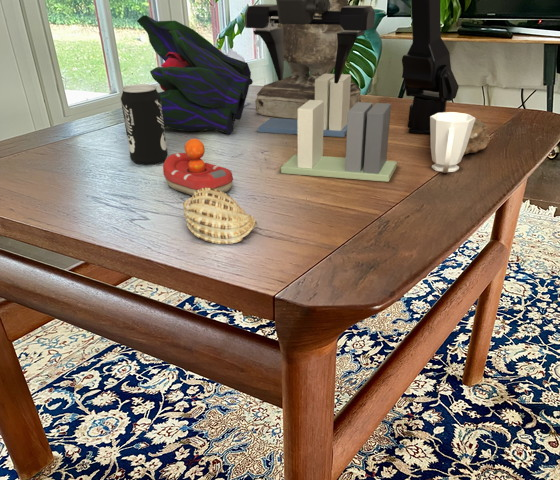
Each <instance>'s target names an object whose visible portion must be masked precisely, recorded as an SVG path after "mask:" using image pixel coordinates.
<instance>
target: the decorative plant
mask: <svg viewBox="0 0 560 480" xmlns="http://www.w3.org/2000/svg"><path fill="white" fill-rule="evenodd" d="M136 22H137V23H138V25H140V26H141V28H142V29H143V30H144V31H145V32H146V34H147V37H148V42H149V44H150V46H151V47H152V49H153V50H154V52H155V53H156V54H157V55H158V56H159V57H160V58H161V59H162V60H163V61H164V62H163V63H162V64H161V65H160V66H157V67H154V68H152V70H150V71H149V73H150V76H151V78H152V79H153V80H154V81H155V82H156V83H157V84H159V87H160V89H161V90H162V91H159V92H158V93H159V95H160V98H161V106H162V114H163V121H164V128H168V129H172V130H178V131H185V132H198V131H199V132H200V131H219V132H221V133H224V134H226V135H227V134H228V135H231V133H232V132H233V131H234V128H235V121H240V120H241V119H242V116H243V112H244V108H245V105H244V104H245V100H247V96H248V92H249V89H250V86H251V85H253V83H254V81H253V79H252V77H251V76H252V72H251V69H250V66H249V64H248V62H246V61H245V62H243V61H240V60H237V59H234V58H231V57H228V56H226V55H225V54H224V52H222V51H221V50H220V49H218V48H217V47H216V46H215V45H214V44H213V43H211V42H210V41H209V40H208V39H207V38H205V37H203V36H202V35H201V34H200V33H199V32H197V31H196V30H195V29H193V28H191V27H190V26H187V25H185V24H183V23H181V22H179V21H177V20H155V19H154V18H152V17H151V16H148V15H146V14H143V15H142V16H141V17H140V18H138V19H137V20H136Z"/></svg>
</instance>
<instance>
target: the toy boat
mask: <svg viewBox="0 0 560 480" xmlns="http://www.w3.org/2000/svg"><path fill="white" fill-rule="evenodd" d="M205 149H206V148H205V145H204V143H203V141H201V140H200V139H198V138H190V139H188V140H187V141H186V142H185V145H184V152H175V153H173V154H170V155H168V156H167V158H166V159H165V161H164V162H163V165H162V171H163V172H162V173H163V176H164V178H165V181H166V183H167V184H168V186H169V187H170V188H172V190H175V191H176V192H177V191H178V192H180V193H184V194H186V195H190V196H191V197H192V196H193V195H194V192H195V191H197V190H199V189H201V188H212V189H216V190H219V191H221V192H224V193H226V192H228V191H229V190H231V188H232V187H233V182H234V176H233V172H232V170H230V169H229V168H227V167H223V166H219V165H216V164H212V163H209V162H205V161H204V159H202V158H203V156H204V155H205V151H206V150H205Z"/></svg>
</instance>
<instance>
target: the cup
mask: <svg viewBox="0 0 560 480" xmlns="http://www.w3.org/2000/svg"><path fill="white" fill-rule="evenodd" d="M475 118H476V117H475V116H473V115H471V114H469V113H463V112H455V111H445V113H437V114H434V115H432V116H430V134H429V135H430V153H431V154H430V155H431V161H432V162H433V163H434V164H432V165H431V169H433V170H435V171H436V172H441V173H442V174H448V173H454V172H457V171H458V170H459V169H460V166H459V165H458V164H460V163H461V162H462V159H463V157H464V155H465V154H464V152H465V150H466V147H467V144H468V141H469V137H470V134H471V131H472V128H473V125H474V122H475Z"/></svg>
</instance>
